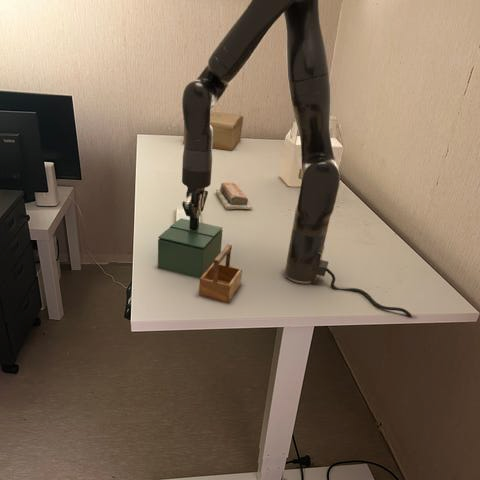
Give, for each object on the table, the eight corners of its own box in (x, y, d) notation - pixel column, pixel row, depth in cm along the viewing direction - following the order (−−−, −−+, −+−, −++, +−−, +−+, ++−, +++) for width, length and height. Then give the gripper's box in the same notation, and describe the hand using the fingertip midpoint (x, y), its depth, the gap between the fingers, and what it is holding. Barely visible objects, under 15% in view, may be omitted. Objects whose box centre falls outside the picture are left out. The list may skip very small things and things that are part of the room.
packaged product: (216, 181, 180) (240, 181, 183) (215, 193, 183) (239, 193, 185) (226, 197, 166) (253, 197, 168) (225, 210, 168) (251, 210, 171)
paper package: (181, 144, 239) (182, 115, 231) (194, 134, 260) (195, 107, 252) (232, 152, 237) (235, 123, 229) (241, 141, 258) (243, 114, 250)
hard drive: (200, 222, 153) (199, 208, 163) (175, 221, 152) (176, 207, 162) (200, 227, 154) (199, 213, 164) (175, 225, 153) (176, 211, 163)
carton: (180, 247, 140) (180, 218, 134) (220, 256, 137) (222, 227, 132) (158, 268, 128) (157, 236, 122) (201, 278, 125) (203, 247, 120)
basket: (212, 278, 126) (215, 241, 120) (240, 285, 124) (244, 247, 118) (198, 295, 118) (200, 256, 111) (228, 303, 116) (232, 263, 110)
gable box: (287, 186, 199) (298, 117, 183) (278, 177, 209) (288, 110, 194) (335, 187, 204) (350, 120, 188) (324, 178, 214) (337, 113, 199)
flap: (180, 219, 135) (180, 218, 134) (222, 228, 132) (222, 227, 132) (170, 227, 129) (170, 226, 128) (213, 237, 126) (213, 235, 126)
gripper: (201, 175, 113) (197, 240, 122) (219, 162, 123) (214, 223, 133) (173, 169, 114) (171, 234, 124) (193, 157, 125) (190, 218, 135)
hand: (194, 228), depth 129 cm, fingers closed
